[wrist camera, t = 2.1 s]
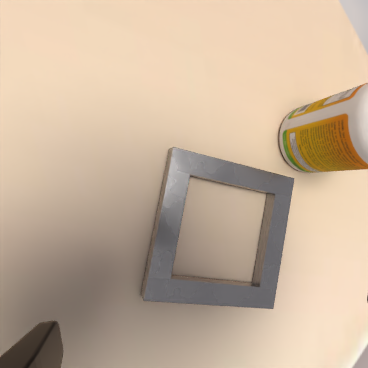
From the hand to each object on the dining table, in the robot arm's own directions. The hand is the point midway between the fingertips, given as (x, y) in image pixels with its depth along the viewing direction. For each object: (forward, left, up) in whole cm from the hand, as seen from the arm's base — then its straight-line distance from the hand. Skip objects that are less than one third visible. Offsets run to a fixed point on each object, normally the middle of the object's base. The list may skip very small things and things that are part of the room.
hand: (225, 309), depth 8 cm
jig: (+1, -6, -11) cm, 13 cm away
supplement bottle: (+10, -12, -12) cm, 19 cm away
